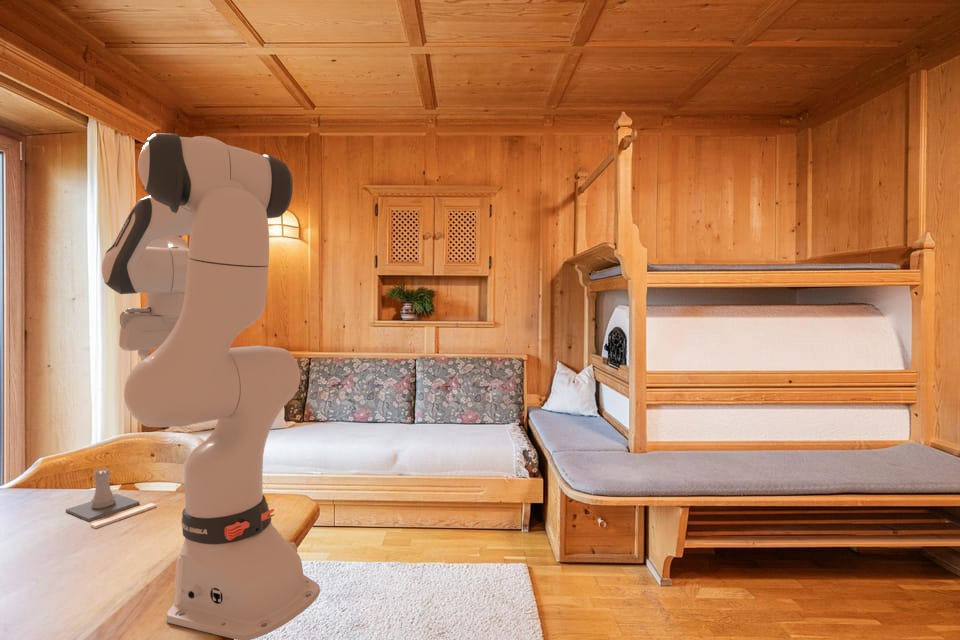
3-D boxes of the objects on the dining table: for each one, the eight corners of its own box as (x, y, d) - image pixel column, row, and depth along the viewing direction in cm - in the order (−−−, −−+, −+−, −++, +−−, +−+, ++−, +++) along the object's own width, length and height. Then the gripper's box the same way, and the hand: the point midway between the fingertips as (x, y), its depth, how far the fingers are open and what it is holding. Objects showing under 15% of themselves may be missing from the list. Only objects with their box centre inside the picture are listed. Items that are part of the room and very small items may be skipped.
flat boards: (156, 506, 114) (156, 504, 114) (95, 528, 103) (95, 525, 103) (120, 494, 121) (120, 492, 121) (60, 513, 110) (60, 511, 110)
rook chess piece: (102, 510, 110) (100, 474, 110) (85, 508, 111) (84, 473, 111) (120, 502, 115) (119, 467, 114) (104, 500, 116) (103, 466, 115)
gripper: (127, 308, 106) (130, 373, 106) (218, 306, 124) (220, 362, 124) (111, 308, 109) (114, 371, 109) (203, 306, 127) (204, 360, 127)
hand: (171, 366), depth 117 cm, fingers open, 8 cm apart
